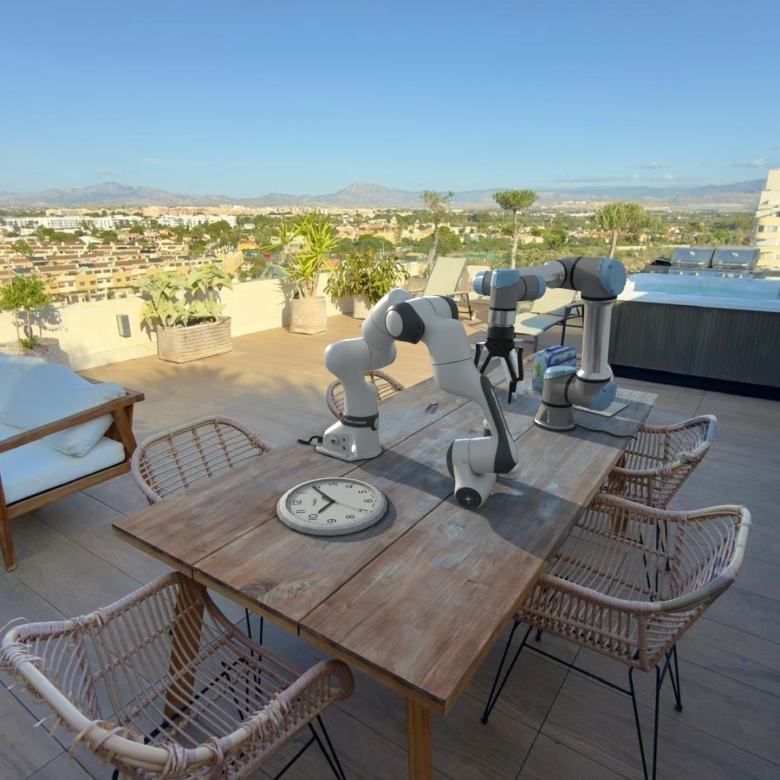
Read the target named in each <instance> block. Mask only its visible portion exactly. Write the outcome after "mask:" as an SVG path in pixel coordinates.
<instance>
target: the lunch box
mask: <svg viewBox="0 0 780 780" xmlns="http://www.w3.org/2000/svg"><path fill="white" fill-rule="evenodd" d="M576 362H577V348H576V347H571V346H565V345H553V346H550V347H546V348H545V349H542V350H539V351H538V352H537V353H536V354H535V356H534V358H533V365H532V376H531V377H532V378H531V390H532V391H533V392H537V393H542V391H543V381H544V379H543V378H544V374H545V371H546V369H547V368H550V367H554V366H572V367H575V368H576V364H577V363H576Z"/></svg>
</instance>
